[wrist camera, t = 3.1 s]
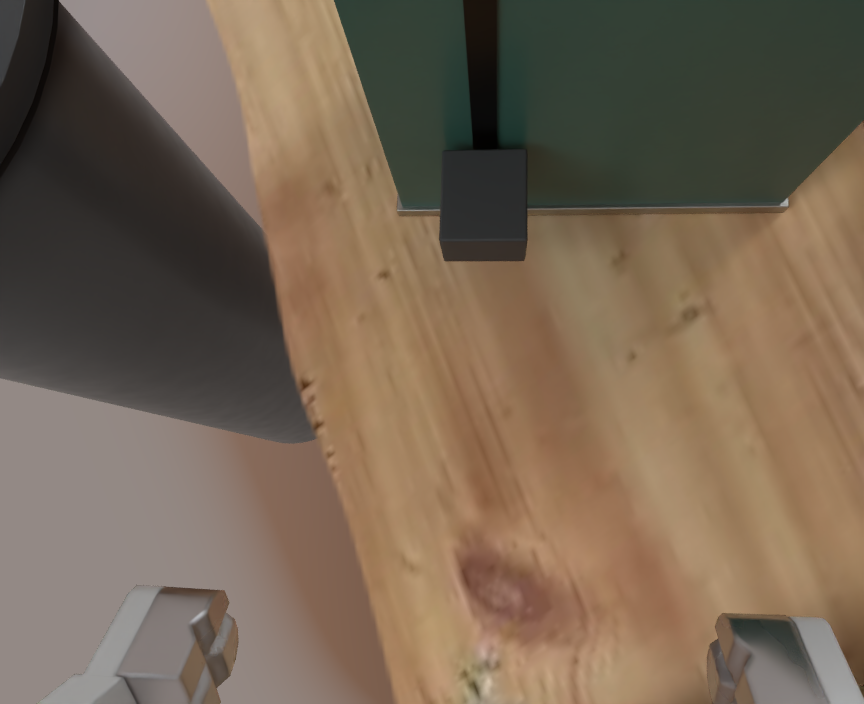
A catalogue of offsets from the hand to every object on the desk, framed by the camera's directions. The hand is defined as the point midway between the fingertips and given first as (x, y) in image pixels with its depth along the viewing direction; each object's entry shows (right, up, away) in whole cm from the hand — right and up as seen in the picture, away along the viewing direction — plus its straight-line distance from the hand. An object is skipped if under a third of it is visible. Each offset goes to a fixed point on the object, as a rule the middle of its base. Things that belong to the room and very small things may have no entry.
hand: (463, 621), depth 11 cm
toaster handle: (+1, +9, +12) cm, 15 cm away
